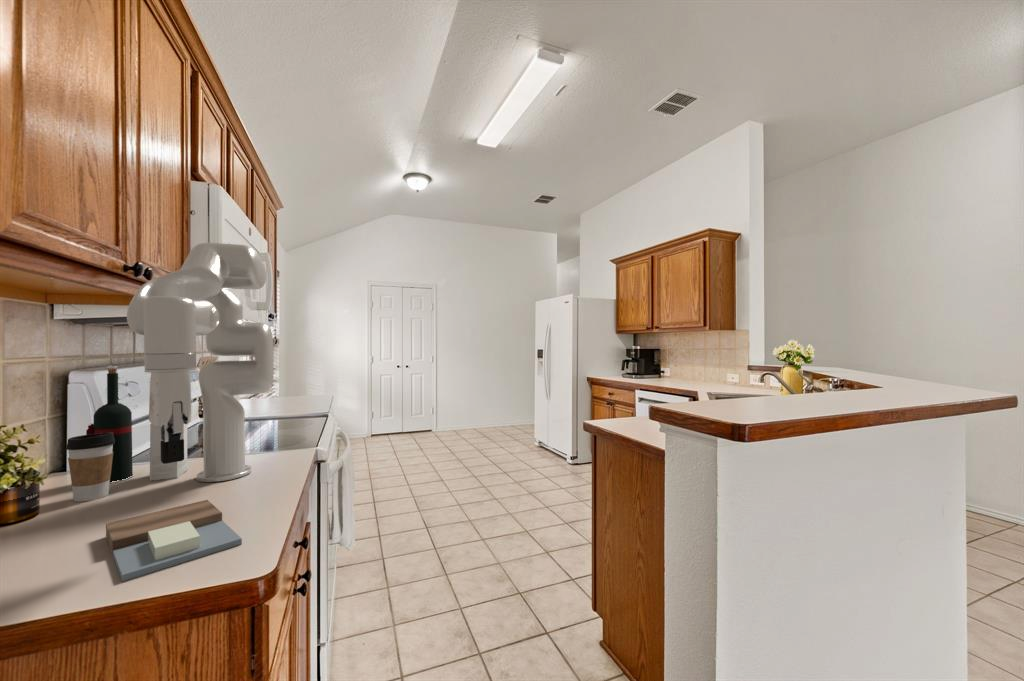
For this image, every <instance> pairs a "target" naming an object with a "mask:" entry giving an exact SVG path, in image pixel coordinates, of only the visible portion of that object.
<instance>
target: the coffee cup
mask: <svg viewBox="0 0 1024 681" xmlns="http://www.w3.org/2000/svg"><path fill="white" fill-rule="evenodd" d="M114 443H115V439H114V435H113V432H107V433H99V434H90V435H86V434H85V435H77V436H72V437H70V438H68V439H67V443H66V445H65V447H66V448H65V450H67V451H68V458H67V459H68V460H67V461H68V469H69V475H70V481H71V486H72V487H71V488H72V496H73V497H72V498H73V501H74V502H75V501H77V502H78V503H81V502H82V503H83V501H84V502H91V501H95V500H101V499H103V498H105V497H107V496H108V495H109V492H110V484H111V483H110V476H111V467H112V459H113V452H112V449H113V444H114ZM77 502H76V503H77Z"/></svg>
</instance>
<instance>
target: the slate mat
mask: <svg viewBox="0 0 1024 681" xmlns="http://www.w3.org/2000/svg"><path fill="white" fill-rule="evenodd" d="M195 529H196V531H197V532H198V534H199V535H200V548H196V549H193V550H189V551H186V552H182V553H179V554H176V555H172V556H169V557H165V558H162V559H158V560H155V559H154V557H153V554H152V552H151V549H150V547H149V544H148V541H145V542H141V543H138V544H134V545H130V546H127V547H123V548H119V549H116V550H113V555H112V557H113V560H114V563H115V565H116V568H117V571H118V574H119V577H120V579H121V582H122V583H123V582H126V581H129V580H131V579H136V578H139V577H141V576H146V575H148V574H150V573H155V572H157V571H160V570H164V569H167V568H170V567H172V566H173V567H174V566H176V565H180V564H183V563H185V562H189V561H192V560H195V559H198V558H203V557H205V556H208V555H211V554H215V553H218V552H221V551H224V550H228V549H231V548H234V547H237V546H240V545H243V543H242V542H243V538H242V537H241V536H240V535H239V534H238V533H237V532H235V531H234V530H233V529H232V528H231V527H230V526H229V524H227V523H226V522H225V521H224V520H222V521H219V522H215V523H212V524H208V525H204V526H201V527H197V528H195Z"/></svg>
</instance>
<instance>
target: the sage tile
mask: <svg viewBox="0 0 1024 681" xmlns="http://www.w3.org/2000/svg"><path fill="white" fill-rule="evenodd" d="M148 544H149V547H150V549H151V552H152V554H153V557H154V559H155V560H158V559H162V558H165V557H169V556H172V555H176V554H179V553H182V552H186V551H189V550H193V549H196V548H200V535H199V534H198V532H197V531H196V529H195V528H194V527H193V525H192V524H191V522H190V521H188V522H184V523H180V524H176V525H172V526H168V527H164V528H160V529H156V530H152V531H148Z"/></svg>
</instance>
